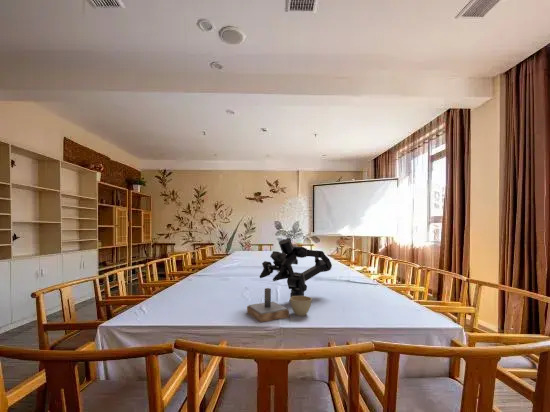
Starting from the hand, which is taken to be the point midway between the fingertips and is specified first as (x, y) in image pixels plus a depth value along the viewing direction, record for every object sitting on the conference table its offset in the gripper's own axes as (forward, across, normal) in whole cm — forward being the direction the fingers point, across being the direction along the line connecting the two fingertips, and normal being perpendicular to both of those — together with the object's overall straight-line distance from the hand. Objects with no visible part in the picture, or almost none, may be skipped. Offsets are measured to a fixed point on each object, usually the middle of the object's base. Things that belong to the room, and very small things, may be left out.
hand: (266, 278), depth 138 cm
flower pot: (0, +15, +17) cm, 23 cm away
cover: (+9, +5, +9) cm, 14 cm away
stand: (+10, +5, +12) cm, 16 cm away
